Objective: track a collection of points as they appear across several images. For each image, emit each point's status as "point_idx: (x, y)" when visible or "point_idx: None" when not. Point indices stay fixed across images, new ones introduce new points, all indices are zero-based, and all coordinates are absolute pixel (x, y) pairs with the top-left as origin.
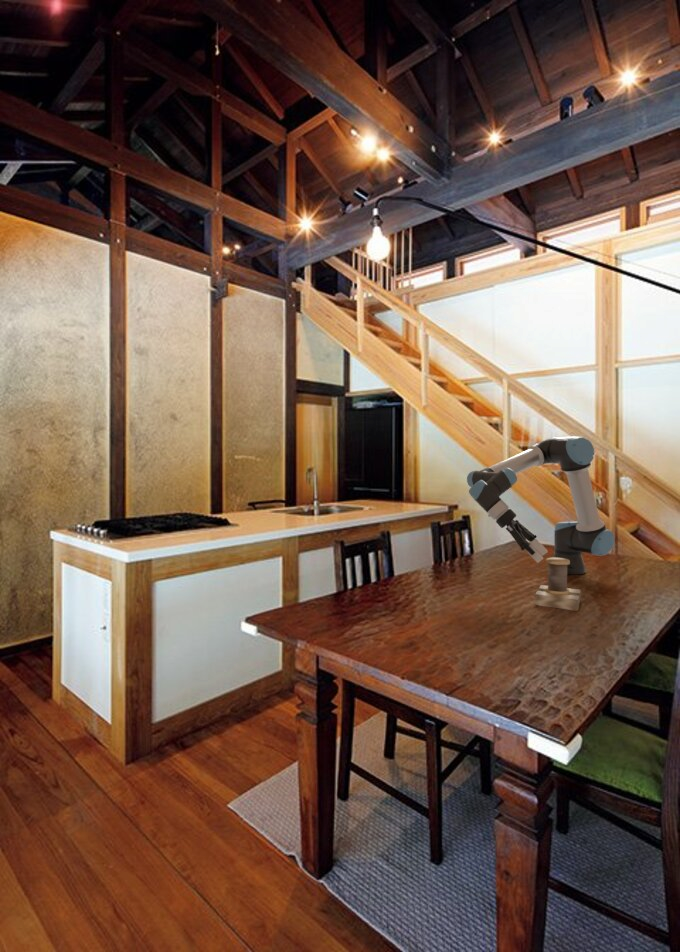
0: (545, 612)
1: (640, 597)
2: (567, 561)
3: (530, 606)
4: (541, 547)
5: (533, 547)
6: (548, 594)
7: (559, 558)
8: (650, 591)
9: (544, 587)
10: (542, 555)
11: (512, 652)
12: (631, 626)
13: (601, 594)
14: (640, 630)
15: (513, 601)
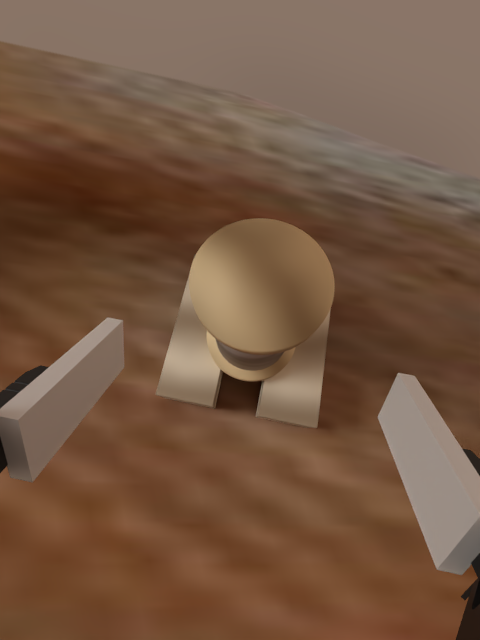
0: (375, 397)
1: (119, 123)
2: (292, 233)
3: (324, 446)
4: (94, 363)
5: (457, 468)
6: (302, 374)
7: (215, 266)
8: (51, 90)
9: (195, 381)
10: (122, 366)
11: None
12: (397, 192)
13: (106, 205)
14: (419, 180)
15: (281, 516)
